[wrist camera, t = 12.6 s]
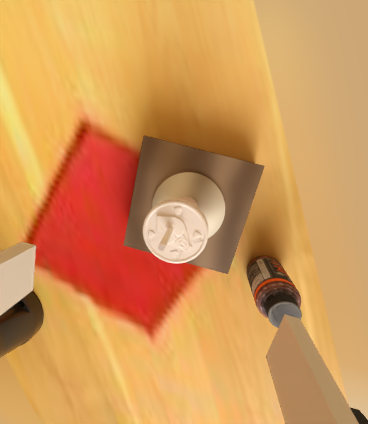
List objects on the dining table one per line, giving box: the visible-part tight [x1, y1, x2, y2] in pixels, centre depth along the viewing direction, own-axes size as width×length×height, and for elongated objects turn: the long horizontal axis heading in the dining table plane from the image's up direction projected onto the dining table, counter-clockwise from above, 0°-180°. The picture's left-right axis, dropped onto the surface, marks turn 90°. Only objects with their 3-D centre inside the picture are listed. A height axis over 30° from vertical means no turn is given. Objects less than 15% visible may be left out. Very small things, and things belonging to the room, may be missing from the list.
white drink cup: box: [143, 196, 209, 263], centre depth 24 cm, size 6×6×14 cm
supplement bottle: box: [247, 256, 302, 328], centre depth 33 cm, size 6×6×11 cm
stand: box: [124, 136, 264, 274], centre depth 33 cm, size 16×16×6 cm
